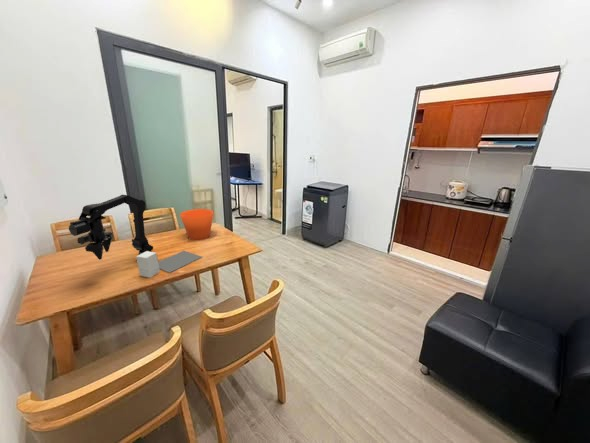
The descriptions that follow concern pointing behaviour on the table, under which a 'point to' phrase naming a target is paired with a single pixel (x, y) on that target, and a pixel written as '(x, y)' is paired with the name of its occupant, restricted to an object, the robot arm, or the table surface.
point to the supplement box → (148, 264)
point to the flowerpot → (197, 223)
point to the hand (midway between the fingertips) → (103, 255)
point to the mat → (177, 261)
